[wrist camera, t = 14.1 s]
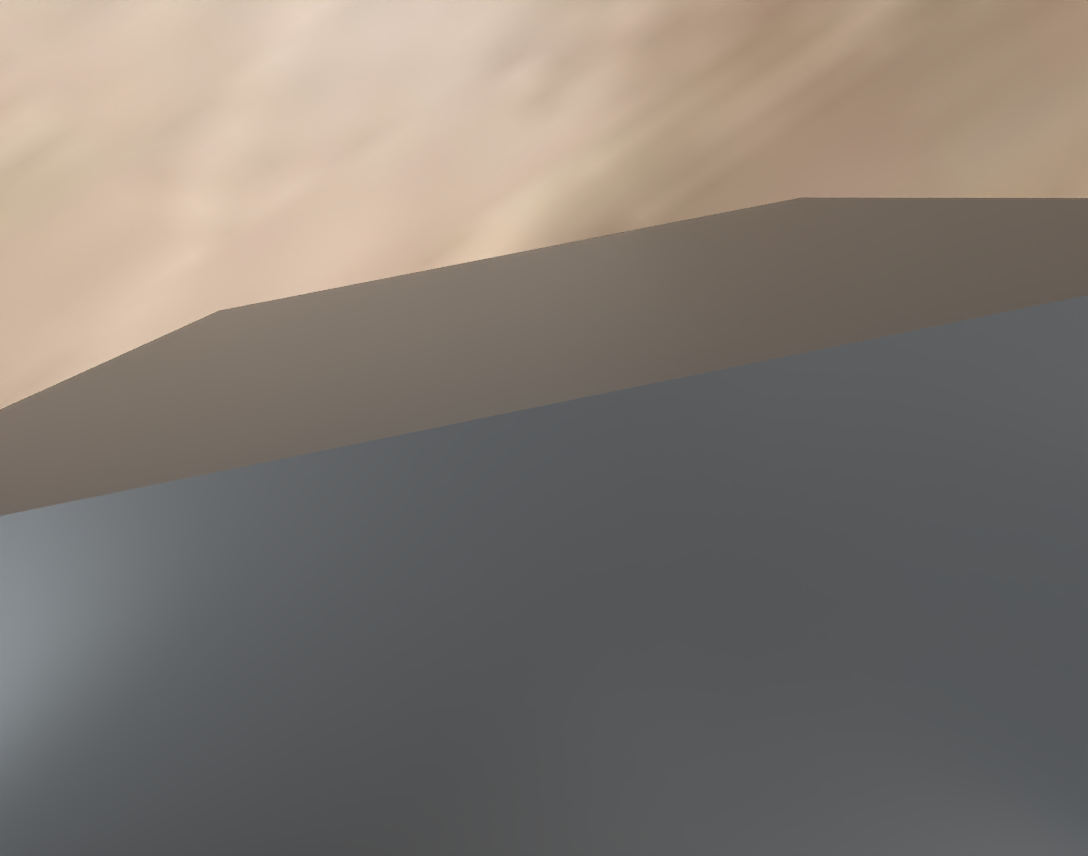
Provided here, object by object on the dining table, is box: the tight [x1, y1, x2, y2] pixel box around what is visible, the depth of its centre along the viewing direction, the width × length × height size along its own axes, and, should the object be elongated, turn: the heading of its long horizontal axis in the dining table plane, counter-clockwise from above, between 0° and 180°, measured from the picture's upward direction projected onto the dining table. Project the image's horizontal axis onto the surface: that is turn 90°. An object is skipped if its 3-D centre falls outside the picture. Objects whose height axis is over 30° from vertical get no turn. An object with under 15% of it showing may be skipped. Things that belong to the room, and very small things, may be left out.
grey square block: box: [0, 198, 1088, 856], centre depth 9 cm, size 10×10×9 cm
